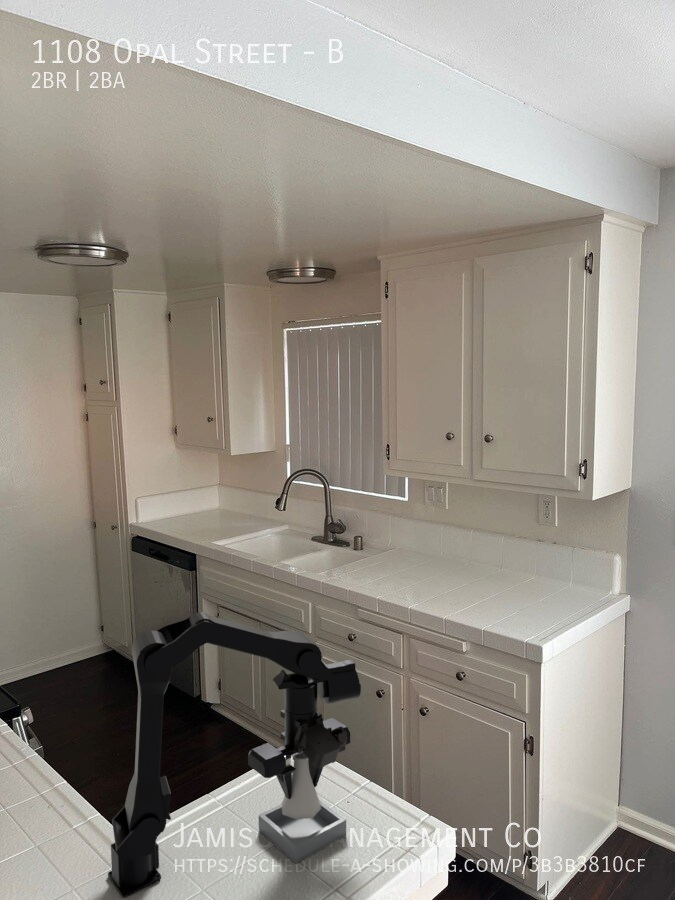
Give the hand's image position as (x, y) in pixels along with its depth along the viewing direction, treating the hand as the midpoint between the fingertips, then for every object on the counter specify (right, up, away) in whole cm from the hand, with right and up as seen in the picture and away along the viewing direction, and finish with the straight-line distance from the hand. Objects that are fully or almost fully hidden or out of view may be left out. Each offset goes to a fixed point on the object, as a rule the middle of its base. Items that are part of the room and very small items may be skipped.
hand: (301, 792), depth 121 cm
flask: (0, -3, 0) cm, 3 cm away
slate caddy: (0, -8, +1) cm, 8 cm away
